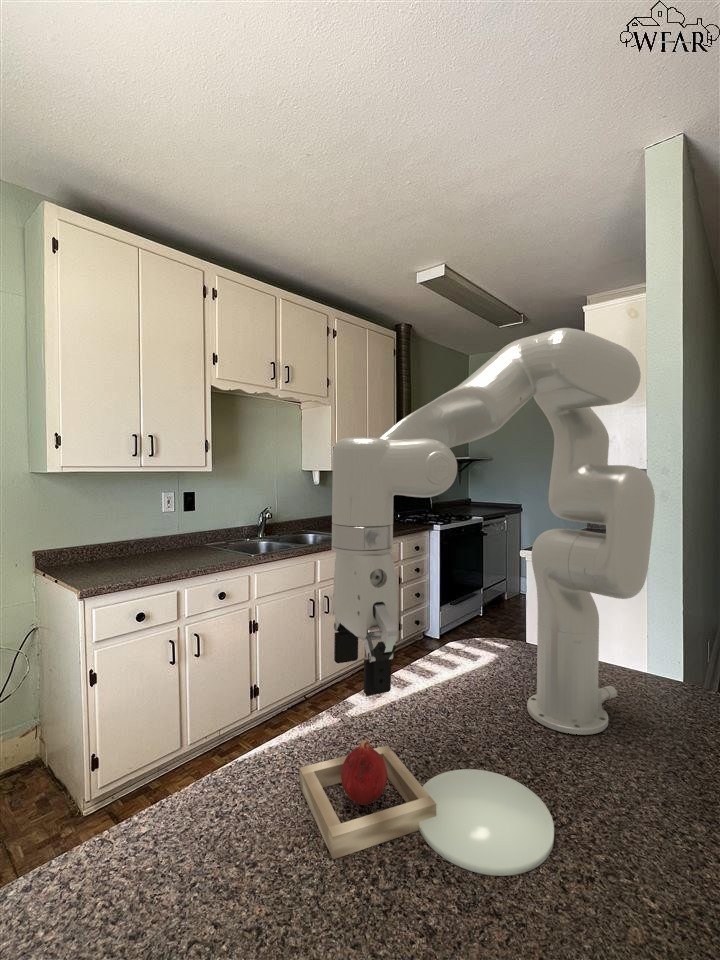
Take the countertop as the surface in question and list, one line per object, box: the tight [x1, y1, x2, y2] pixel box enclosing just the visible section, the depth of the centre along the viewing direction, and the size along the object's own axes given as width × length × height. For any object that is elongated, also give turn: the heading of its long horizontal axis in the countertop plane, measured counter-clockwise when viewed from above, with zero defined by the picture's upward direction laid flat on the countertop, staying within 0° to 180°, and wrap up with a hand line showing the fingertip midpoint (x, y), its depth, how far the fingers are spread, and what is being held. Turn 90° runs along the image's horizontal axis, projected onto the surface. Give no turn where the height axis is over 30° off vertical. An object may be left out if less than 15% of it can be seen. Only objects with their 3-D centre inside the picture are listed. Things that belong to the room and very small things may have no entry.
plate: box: [418, 768, 555, 877], centre depth 58 cm, size 16×16×1 cm
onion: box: [341, 739, 388, 806], centre depth 61 cm, size 6×6×8 cm
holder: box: [299, 744, 436, 860], centre depth 61 cm, size 13×13×2 cm
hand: (360, 675), depth 60 cm, fingers open, 9 cm apart
